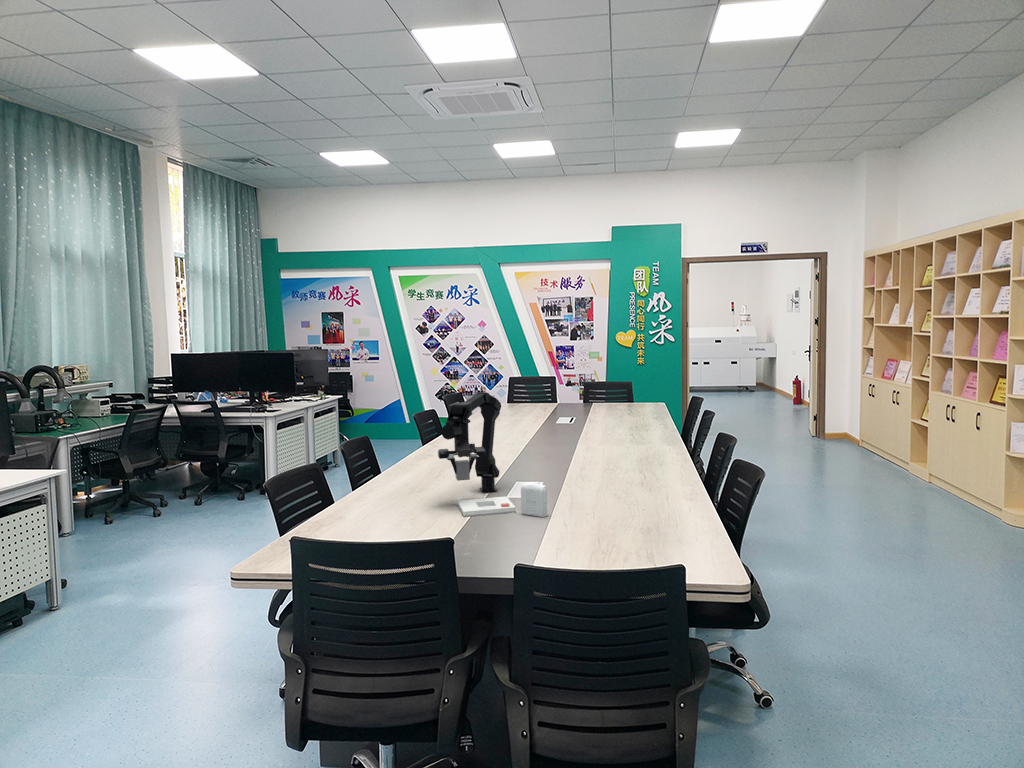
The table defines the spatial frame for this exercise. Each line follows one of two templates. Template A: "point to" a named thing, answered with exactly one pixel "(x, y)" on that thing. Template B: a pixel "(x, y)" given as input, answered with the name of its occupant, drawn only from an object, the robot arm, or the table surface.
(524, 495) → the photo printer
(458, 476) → the plug
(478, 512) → the socket plate
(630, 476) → the table surface
